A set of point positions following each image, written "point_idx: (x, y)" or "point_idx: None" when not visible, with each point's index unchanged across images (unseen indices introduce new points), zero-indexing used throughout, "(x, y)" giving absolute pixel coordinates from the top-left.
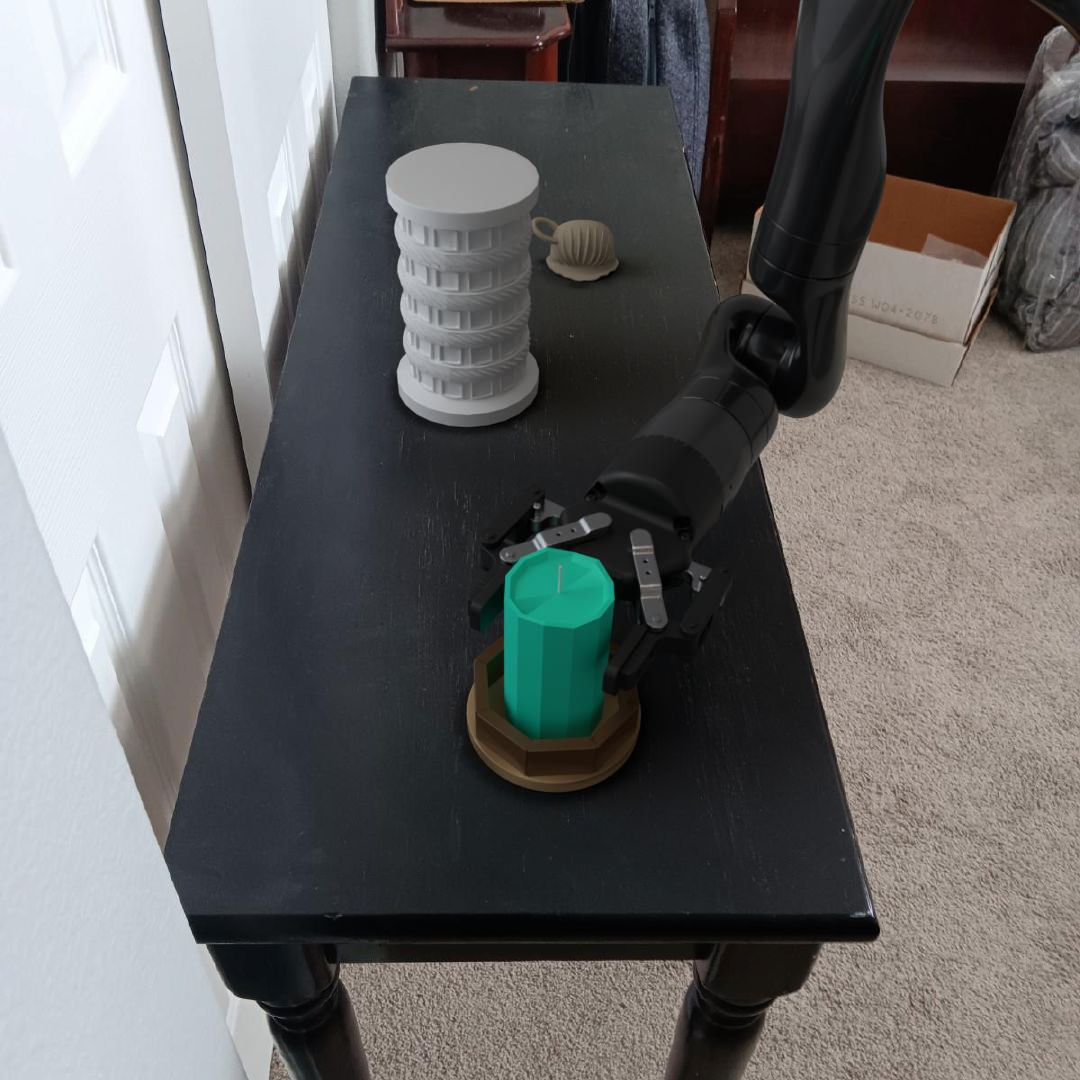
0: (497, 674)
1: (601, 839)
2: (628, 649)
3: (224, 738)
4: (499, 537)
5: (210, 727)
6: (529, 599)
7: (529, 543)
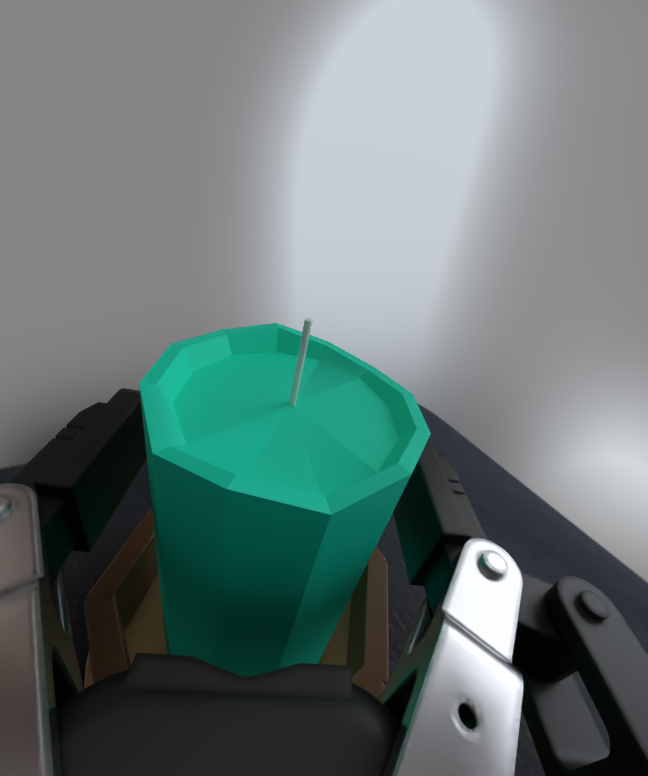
0: (353, 610)
1: (142, 491)
2: (98, 423)
3: (486, 466)
4: (573, 618)
5: (502, 470)
6: (337, 383)
7: (502, 643)
